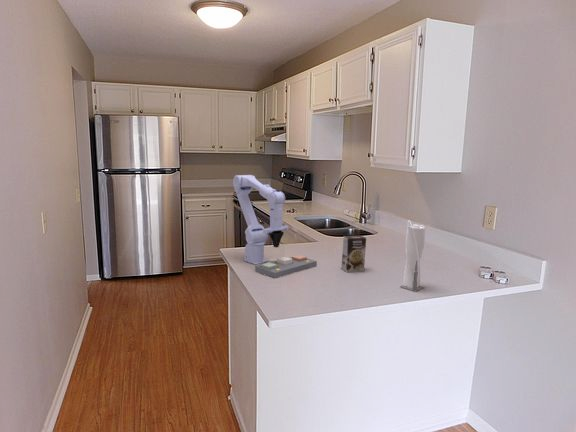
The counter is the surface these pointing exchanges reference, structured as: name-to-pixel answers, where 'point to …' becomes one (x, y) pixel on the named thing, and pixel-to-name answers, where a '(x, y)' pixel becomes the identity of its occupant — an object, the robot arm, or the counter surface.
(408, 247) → the skyscraper
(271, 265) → the sage key
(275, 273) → the keypad
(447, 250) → the counter surface
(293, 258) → the terracotta key
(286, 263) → the cream key
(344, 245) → the coffee box
